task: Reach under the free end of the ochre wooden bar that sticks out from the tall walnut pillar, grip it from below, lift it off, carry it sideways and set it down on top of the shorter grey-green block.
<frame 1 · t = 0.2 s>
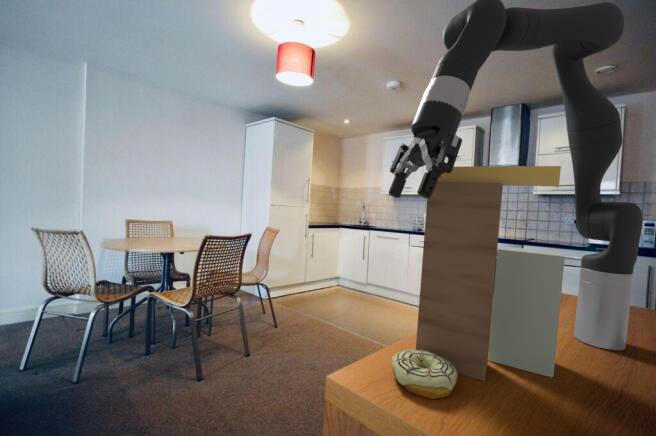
hand: (407, 196, 54), 31 cm above the counter, tool tilted 20°, fingers open, 8 cm apart
grey-green block: (518, 360, 63), on the counter
decorated donut: (422, 383, 53), on the counter
walnut pillar: (451, 362, 60), on the counter
ochre bar: (488, 184, 57), point 34 cm above the counter, touching walnut pillar
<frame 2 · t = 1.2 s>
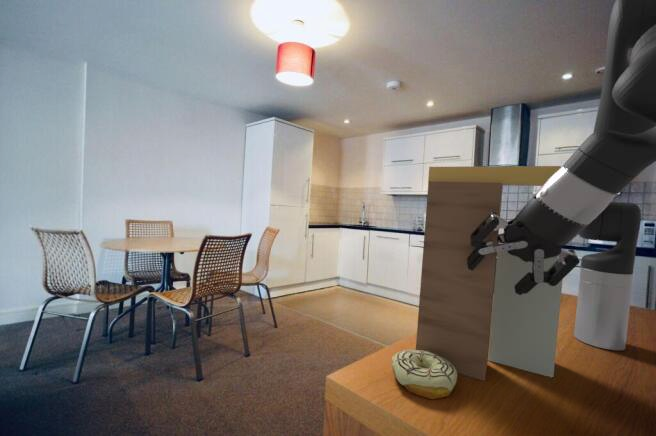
hand: (492, 278, 54), 18 cm above the counter, tool tilted 35°, fingers open, 8 cm apart
nothing on the counter moved.
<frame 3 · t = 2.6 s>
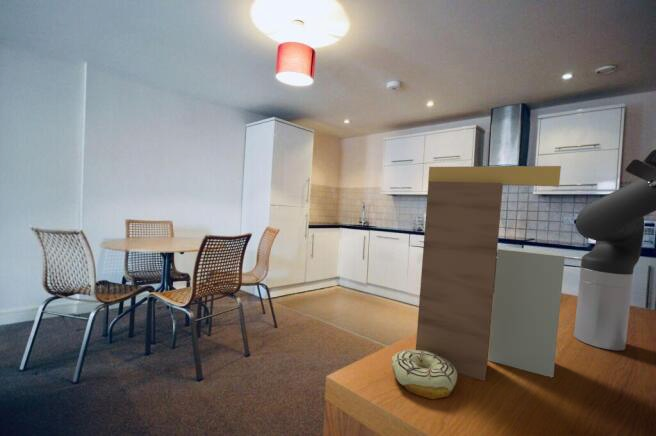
hand: (637, 160, 49), 38 cm above the counter, tool pointing upward, fingers open, 8 cm apart
nothing on the counter moved.
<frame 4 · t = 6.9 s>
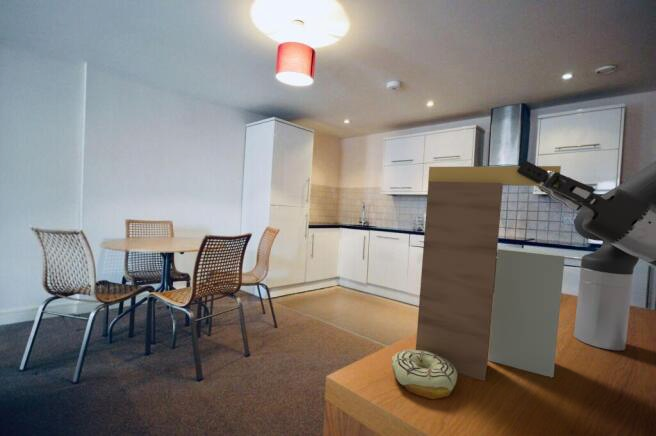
hand: (520, 167, 54), 37 cm above the counter, tool pointing upward, fingers closed on ochre bar, 3 cm apart
ochre bar: (488, 184, 57), point 34 cm above the counter, touching gripper, walnut pillar
everything else where it was.
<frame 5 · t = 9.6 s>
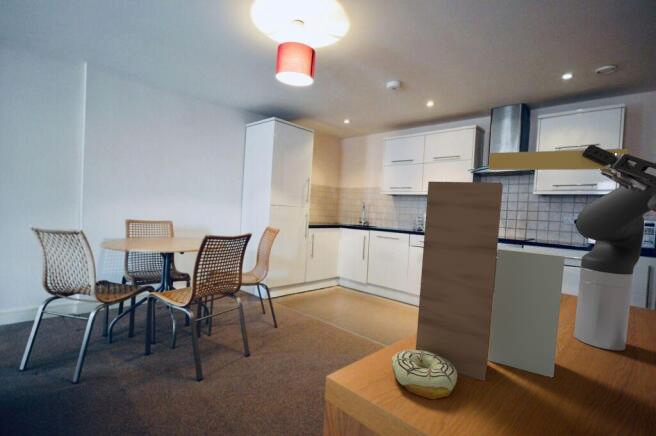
hand: (584, 151, 56), 41 cm above the counter, tool pointing upward, fingers closed on ochre bar, 3 cm apart
ochre bar: (550, 168, 59), point 38 cm above the counter, touching gripper
everything else where it was.
when the fingers open (27 cm above the counter, at t = 12.8 s): ochre bar drops 2 cm, resting on grey-green block.
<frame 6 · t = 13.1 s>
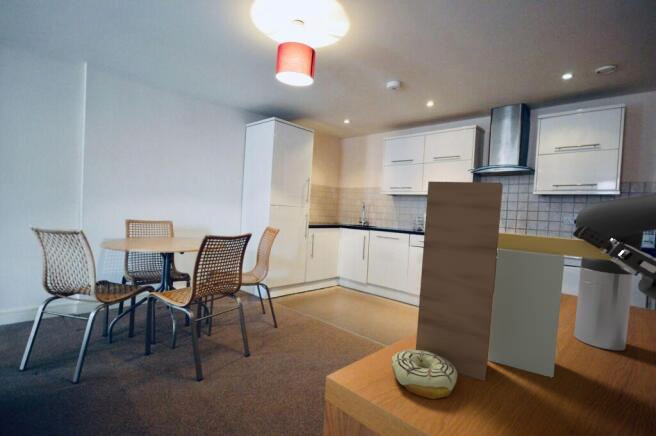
hand: (579, 230, 58), 27 cm above the counter, tool pointing upward, fingers open, 5 cm apart
ochre bar: (544, 252, 60), point 22 cm above the counter, touching grey-green block
everything else where it was.
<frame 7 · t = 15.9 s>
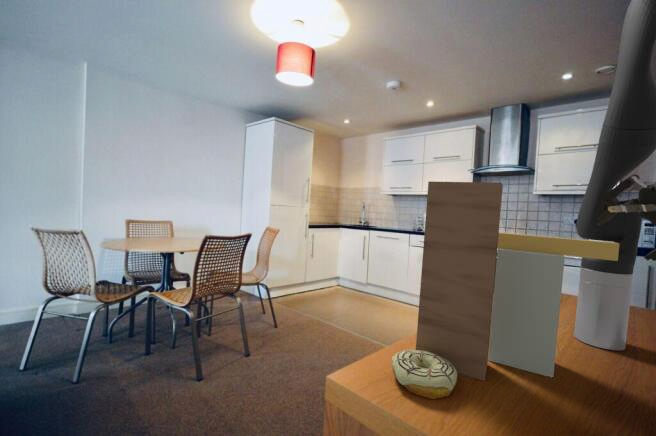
hand: (623, 239, 57), 26 cm above the counter, tool tilted 50°, fingers open, 8 cm apart
nothing on the counter moved.
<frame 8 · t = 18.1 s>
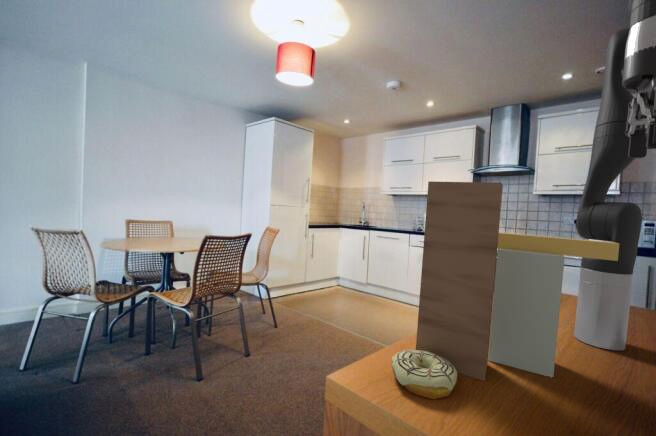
hand: (645, 153, 51), 40 cm above the counter, tool pointing down, fingers open, 8 cm apart
nothing on the counter moved.
at the end: ochre bar inside the target area (1.2 cm from its centre), point 22.0 cm above the counter; ochre bar touching grey-green block; the gripper is holding nothing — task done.
